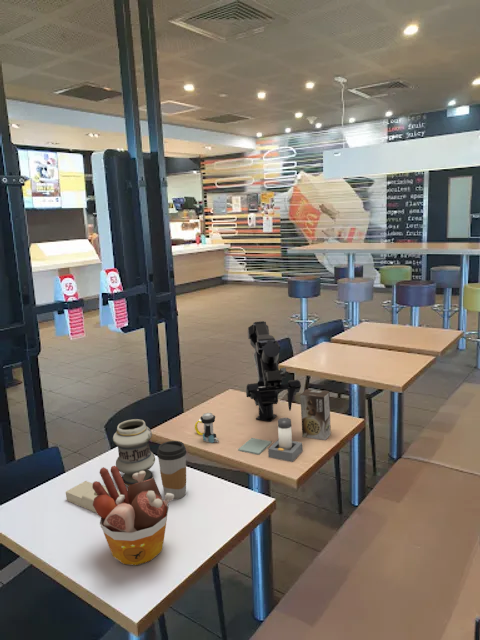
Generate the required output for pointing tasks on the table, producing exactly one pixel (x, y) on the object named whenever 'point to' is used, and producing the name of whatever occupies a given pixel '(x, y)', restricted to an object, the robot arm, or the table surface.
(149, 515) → the bucket of meat
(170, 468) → the coffee cup
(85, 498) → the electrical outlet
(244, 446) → the rubber mat
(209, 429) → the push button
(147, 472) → the apothecary jar
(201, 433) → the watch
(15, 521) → the table surface
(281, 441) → the white capped cylinder
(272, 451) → the grey square holder
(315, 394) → the coffee box
